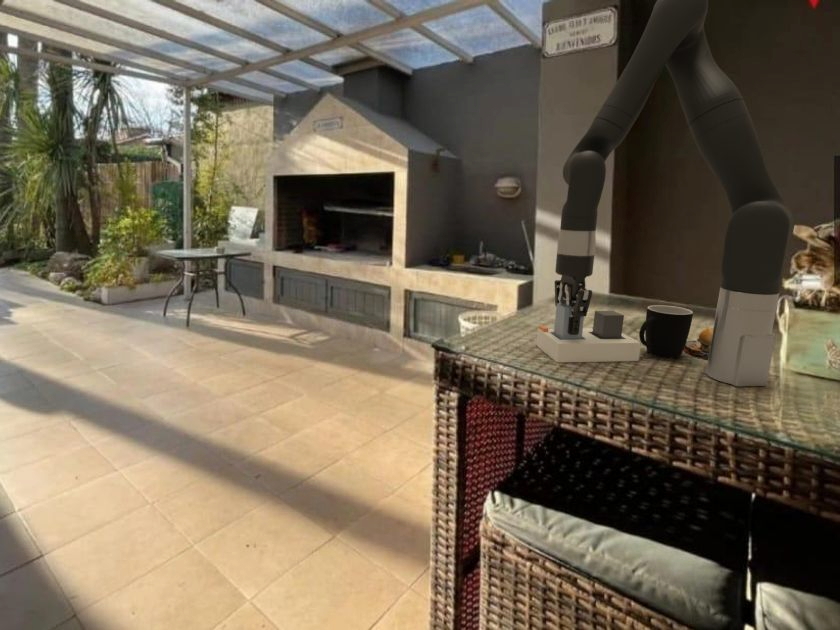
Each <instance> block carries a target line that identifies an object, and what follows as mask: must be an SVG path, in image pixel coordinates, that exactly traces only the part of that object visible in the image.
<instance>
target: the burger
mask: <svg viewBox="0 0 840 630" xmlns="http://www.w3.org/2000/svg"><path fill="white" fill-rule="evenodd" d="M705 324H706V326H707V323H705ZM712 333H713V328H708V327H706V328H705V329H704V330H702V331H701V332H700V333H699V335H698V338H697V339H696V340H695V339H693V340H688V341H687V342H686V345H685V347H684V350H683V353H685V352H686V355H689V356H691V357H694V358H697V359H701V358H702V359H701V360H706V361H708V358H709V351H710V345H711V339H712Z"/></svg>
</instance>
